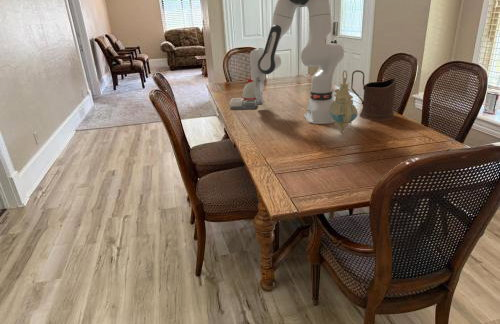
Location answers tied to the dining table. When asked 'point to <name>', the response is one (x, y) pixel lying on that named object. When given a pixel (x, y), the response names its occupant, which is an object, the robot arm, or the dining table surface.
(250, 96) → the kitchen timer
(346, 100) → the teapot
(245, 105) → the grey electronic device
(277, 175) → the dining table surface
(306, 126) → the dining table surface
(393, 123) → the dining table surface
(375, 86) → the brown pitcher
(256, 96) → the cell
